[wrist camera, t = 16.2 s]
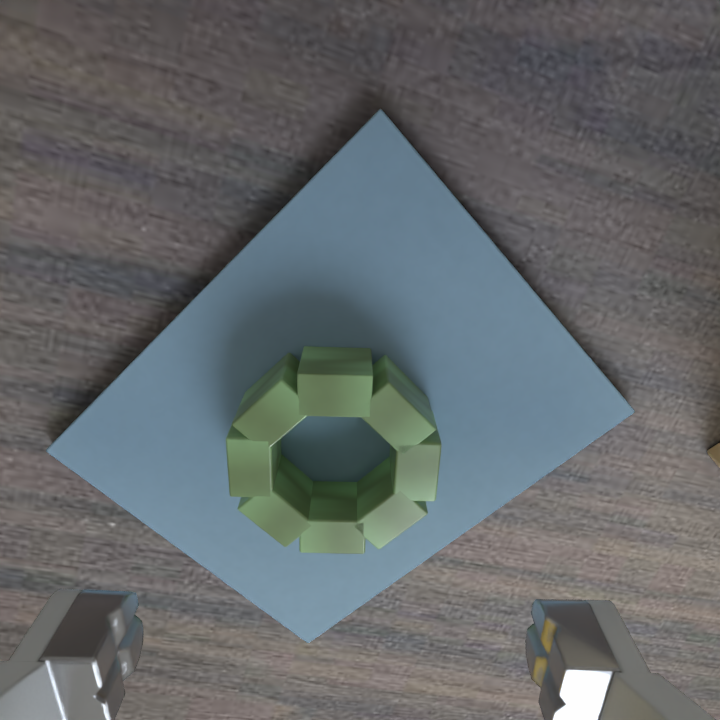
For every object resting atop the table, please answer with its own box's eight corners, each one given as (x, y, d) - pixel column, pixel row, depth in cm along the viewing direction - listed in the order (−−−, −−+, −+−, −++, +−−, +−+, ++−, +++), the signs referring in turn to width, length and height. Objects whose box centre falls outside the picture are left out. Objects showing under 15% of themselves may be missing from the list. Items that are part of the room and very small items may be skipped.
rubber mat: (379, 108, 15) (380, 107, 15) (629, 405, 19) (636, 412, 19) (51, 443, 20) (44, 451, 19) (309, 634, 23) (307, 644, 23)
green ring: (338, 306, 17) (335, 329, 15) (469, 438, 19) (482, 474, 17) (201, 431, 19) (182, 467, 17) (334, 541, 21) (331, 585, 19)
